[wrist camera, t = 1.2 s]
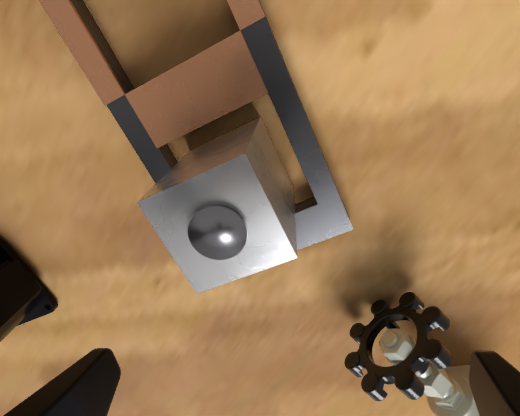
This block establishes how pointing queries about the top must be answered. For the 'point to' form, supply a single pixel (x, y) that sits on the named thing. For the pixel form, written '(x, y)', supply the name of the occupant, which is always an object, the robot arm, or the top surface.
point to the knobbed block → (225, 208)
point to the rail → (206, 101)
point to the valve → (411, 358)
